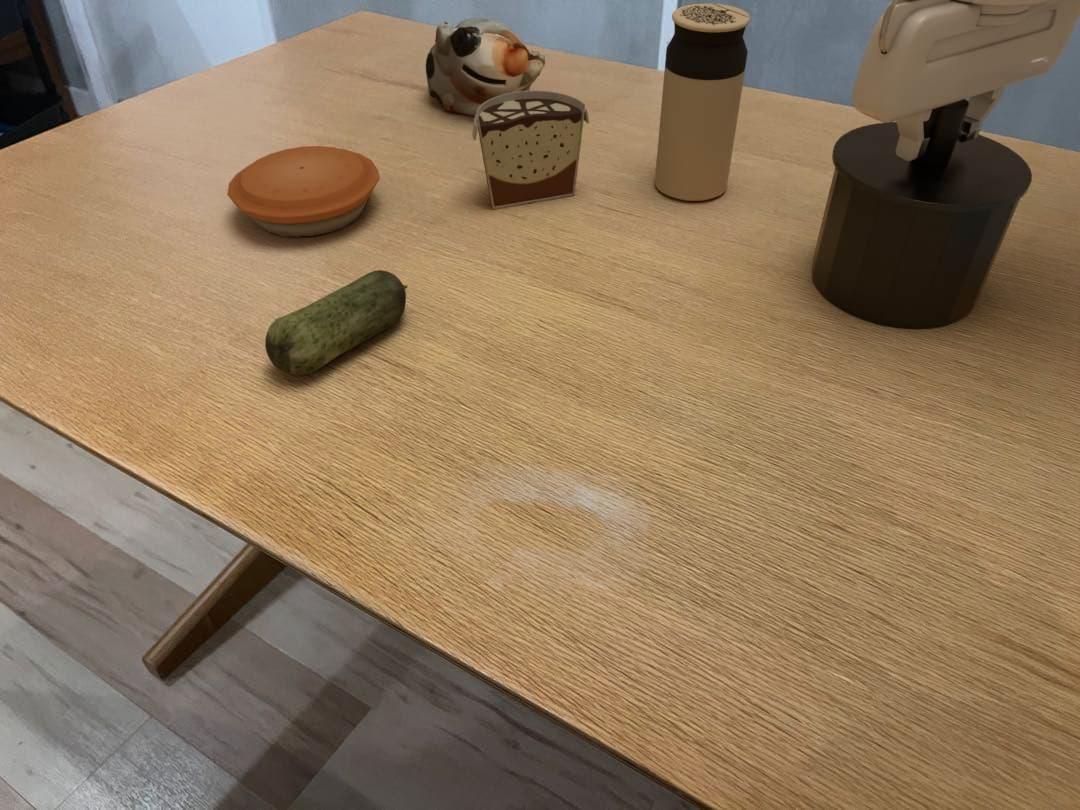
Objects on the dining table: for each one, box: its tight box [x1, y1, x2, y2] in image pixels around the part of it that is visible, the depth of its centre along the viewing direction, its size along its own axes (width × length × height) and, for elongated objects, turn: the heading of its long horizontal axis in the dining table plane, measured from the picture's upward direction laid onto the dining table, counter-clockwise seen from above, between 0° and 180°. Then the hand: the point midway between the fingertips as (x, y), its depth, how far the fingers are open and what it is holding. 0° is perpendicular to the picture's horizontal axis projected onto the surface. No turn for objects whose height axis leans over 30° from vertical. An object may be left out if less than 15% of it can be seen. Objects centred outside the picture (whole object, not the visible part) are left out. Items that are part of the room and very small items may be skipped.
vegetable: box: [264, 269, 408, 376], centre depth 69 cm, size 14×5×5 cm, turn 138°
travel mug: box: [654, 2, 751, 202], centre depth 85 cm, size 8×8×18 cm
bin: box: [811, 167, 1021, 330], centre depth 73 cm, size 15×15×12 cm
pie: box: [227, 145, 380, 238], centre depth 86 cm, size 15×16×5 cm
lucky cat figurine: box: [425, 17, 546, 117], centre depth 105 cm, size 15×12×14 cm
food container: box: [472, 90, 590, 210], centre depth 88 cm, size 12×6×10 cm, turn 108°
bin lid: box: [831, 99, 1033, 212], centre depth 67 cm, size 16×16×6 cm
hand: (935, 147), depth 68 cm, fingers open, 5 cm apart
